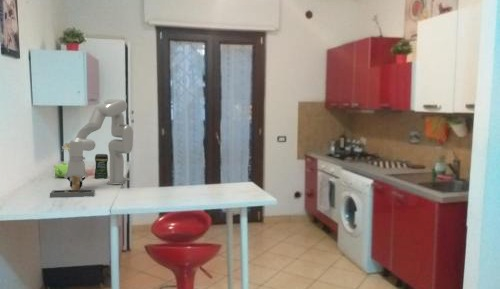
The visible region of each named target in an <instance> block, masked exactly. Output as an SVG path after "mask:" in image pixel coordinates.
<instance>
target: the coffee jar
mask: <svg viewBox="0 0 500 289" xmlns="http://www.w3.org/2000/svg"><path fill="white" fill-rule="evenodd" d="M94 161H95V169H94V178H95V179H98V178H104V179H107V177H108V178H109V169H108V161H109V156H108V154H107V153H97V154H95V156H94Z"/></svg>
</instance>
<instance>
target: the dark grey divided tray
mask: <svg viewBox="0 0 500 289" xmlns="http://www.w3.org/2000/svg"><path fill="white" fill-rule="evenodd" d="M94 194H95V195H96V189H80V190H72V189H54V190H51V192H49V198H78V197H79V198H85V197H84V196H92V197H94V196H95V195H94Z"/></svg>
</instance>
